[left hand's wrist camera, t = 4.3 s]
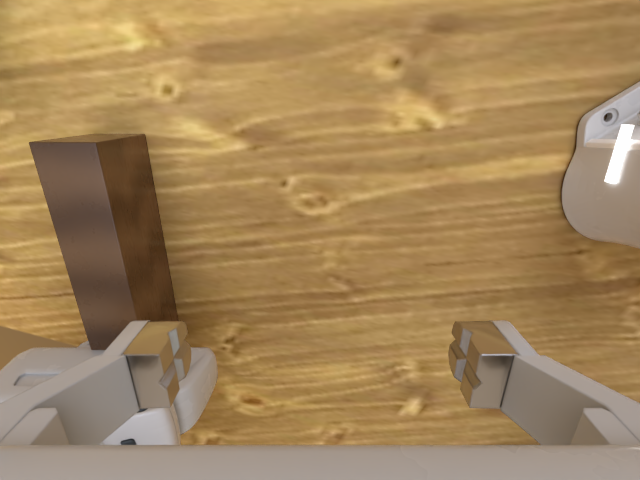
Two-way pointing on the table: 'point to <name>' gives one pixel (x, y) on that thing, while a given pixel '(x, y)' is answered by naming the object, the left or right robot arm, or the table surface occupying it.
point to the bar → (107, 230)
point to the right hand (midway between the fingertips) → (145, 332)
